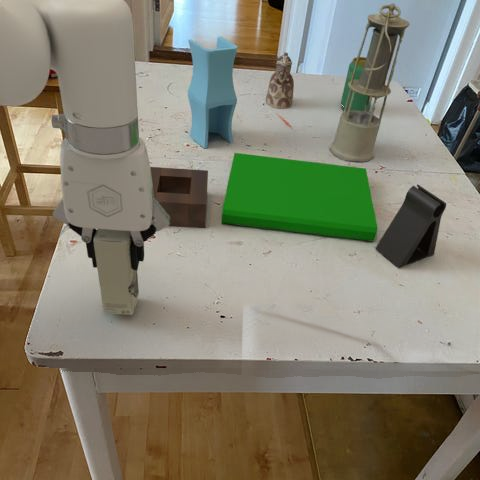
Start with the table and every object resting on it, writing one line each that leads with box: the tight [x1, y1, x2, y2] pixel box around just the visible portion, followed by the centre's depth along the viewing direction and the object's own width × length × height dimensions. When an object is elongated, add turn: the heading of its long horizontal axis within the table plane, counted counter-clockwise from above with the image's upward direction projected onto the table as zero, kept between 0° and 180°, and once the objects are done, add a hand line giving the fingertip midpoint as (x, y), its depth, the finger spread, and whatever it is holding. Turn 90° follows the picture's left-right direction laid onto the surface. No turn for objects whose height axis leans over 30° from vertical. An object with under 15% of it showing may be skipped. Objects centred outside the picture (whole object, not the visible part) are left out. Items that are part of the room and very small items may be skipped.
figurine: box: [265, 52, 295, 110], centre depth 124 cm, size 7×7×12 cm
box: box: [93, 229, 140, 316], centre depth 65 cm, size 5×4×13 cm
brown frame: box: [142, 166, 209, 229], centre depth 87 cm, size 12×12×5 cm
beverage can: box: [340, 56, 373, 111], centre depth 126 cm, size 8×8×12 cm
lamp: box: [329, 3, 411, 162], centre depth 100 cm, size 10×13×30 cm
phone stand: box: [375, 183, 447, 269], centre depth 81 cm, size 9×6×12 cm, turn 121°
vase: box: [187, 36, 238, 150], centre depth 103 cm, size 8×8×20 cm
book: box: [221, 152, 378, 242], centre depth 93 cm, size 22×28×3 cm
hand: (117, 261), depth 64 cm, fingers closed on box, 4 cm apart
